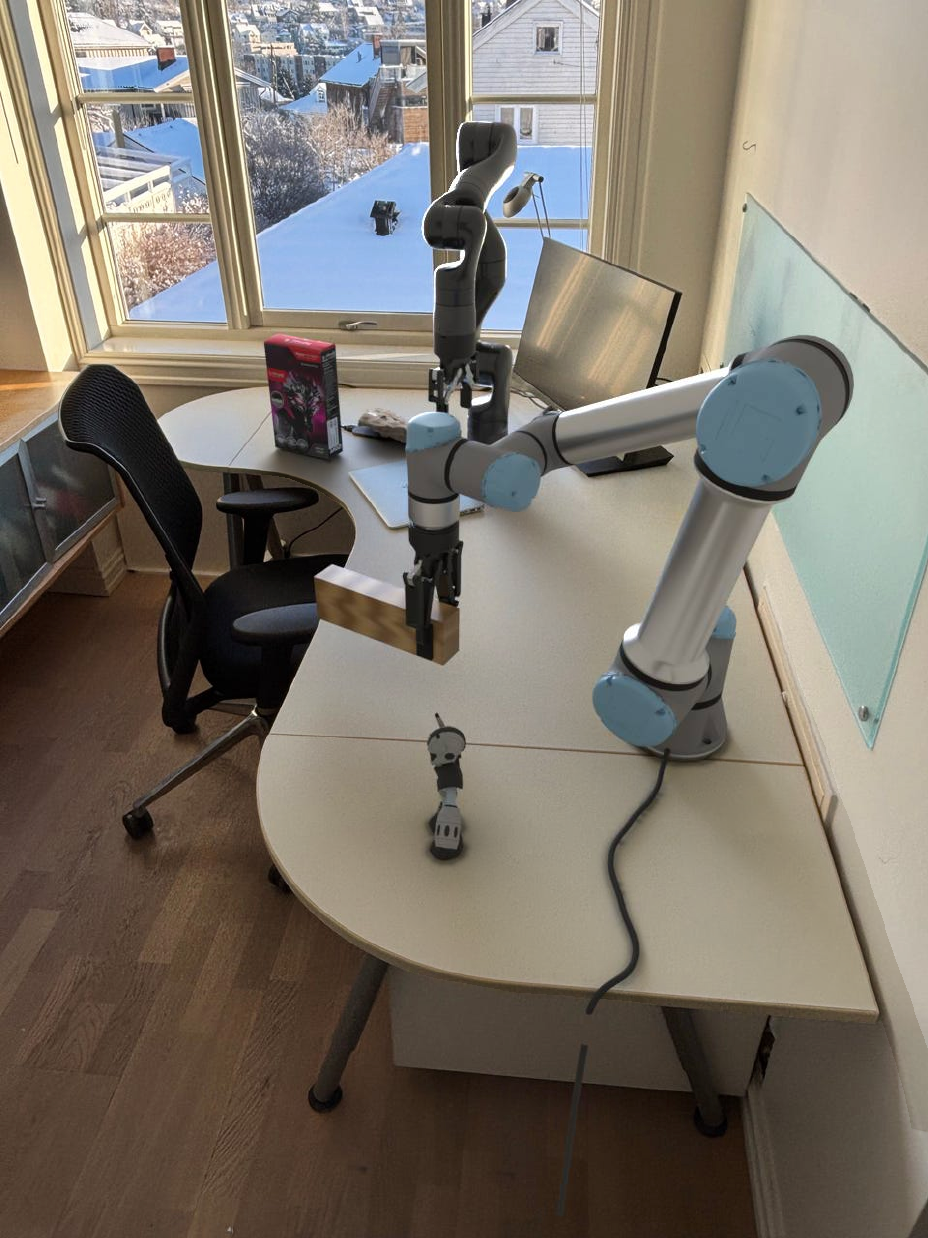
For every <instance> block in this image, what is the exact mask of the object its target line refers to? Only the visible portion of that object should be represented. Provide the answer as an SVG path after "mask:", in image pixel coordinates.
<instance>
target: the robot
mask: <svg viewBox="0 0 928 1238" xmlns="http://www.w3.org/2000/svg"><path fill="white" fill-rule="evenodd" d="M434 717H435V720H436V723H437V726H438V727H437V728H436V729H435V730H433V731H432V732H431V733H430V734H429V735H428V737H427V739H426V746H427V751H428V753H429V756H430V759H429V761H430V765H431V766H434V767H433V770H434V772H435V775H436V776H437V778H436V788H437V789H436V790H437V792H438V794H439V797H440V800H441V801H440V802H439V804H438V806H437V810H436V811H435V813H434V815H432V817H431V818H430V820H429V822H428V824H429V827H430V829H431V831H432V832H433V833H434V838H433V840H432V842H431V845H430V848H429V852H430V853H431V854H432V856H434V857H435V859H438V860H442V861H445V860H451V859H453V858H456V857H458V856H460V855H461V854H462V852H463V848H464V841H463V840H464V838H463V835H462V832H461V831H462V827H463V825H462V820H463V819H462V814H461V809H460V808H459V807H458V806H457V801H456V800H457V799H458V795H459V793H458V789H459V790H463V789H464V776H463V771H462V768H461V762H460V760H461V759H462V752H464V751H465V749H466V747H467V738H466V736H465V733H464V732H462V730H460V729H459V728H457V727H456V726H452V725H445V723H444V721H443V719H442V718H441V716H440V714H439V713H438V712H435V714H434Z"/></svg>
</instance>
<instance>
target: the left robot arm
mask: <svg viewBox="0 0 928 1238" xmlns="http://www.w3.org/2000/svg"><path fill="white" fill-rule="evenodd" d="M517 136H518V135H517V132H516V129H515V127H514V126H513V125H512V124H510V123H507V122H503V121H464V122H463V123H461V124H460V126H459V129H458V132H457V138H456V160H457V162H456V163H457V172H458V174H457V176H456V177H455V179H454V180H453V182H452V183H451V185H450V188H449V189H448V191H447V192H445V193H444V194H443V195H442V196H440V197H439V198H438V199H436V200H434V201H433V202H432V203H431V205H430V206H429V207H428V208H427V210H426V212H425V213H424V216H423V219H422V226H421V232H422V236H423V239H424V241H425V243H426V244H427V245H428V246H429V247H430V248H431V249H434V250H438V251H453V252H454V251H455V252H460V260H458V261H455V262H449V263H444V264H441V265H439V266H437V268H436V269H435V270H434V276H433V278H434V279H433V280H434V281H433V283H434V287H433V290H434V295H433V296H434V305H433V314H432V315H433V316H432V321H433V323H432V325H433V330H432V331H433V334H432V335H433V353H434V355H435V356H437V357H438V359H439V364H438V367H437V368H432V367H431V368H430V369H428V389H427V390H428V393H427V396H428V397H427V398H428V399H427V400H428V401H427V402H429V403H433V404H434V403H435V412H443V413H448V414H450V411H449V410H450V409H449V408H450V407H449V405H450V404H449V400H450V398H451V395H452V394H454V392H455V391H456V388H457V386H458V385H459V386H460V389H459V406H460V408H463V409H467V410H466V411H467V412H466V413H467V415H466V428H467V429H466V438H467V439H469V440H472V441H476V442H480V443H483V444H486V445H491V444H493V443H495V442H497V441H498V440H500V439H502V438H504V437H505V436H507V435H509V414H510V411H509V410H510V403H511V391H512V389H511V388H512V377H513V369H514V368H513V367H514V354H513V350H512V348H511V346H510V345H508V344H505V343H497V342H490V341H482V340H481V333H482V332H481V331H482V326H483V322H484V320H485V318H486V316H487V315H488V312H489V311H490V309H491V307H492V306H493V305H494V303H495V302H496V300H497V299H498V297H499V296H500V294H501V293H502V292H503V291H502V290H503V289H504V287H505V284H506V280H507V256H508V255H507V253H508V251H507V245H506V243H505V242H506V241H505V240H504V238H503V236H502V234H501V232H500V230H499V228H498V227H497V224H496V223H495V222H494V220H493V218H492V217H491V215H490V213H489V212H488V210H487V207H488V204H489V202H490V199H491V198H492V196H493V195H494V194H495V192H496V191H497V190H498V189H499V188H500V187H501V186H502V185H503V184H504V182H505V181H506V180H507V179H508V178H509V177H510V176H511V174H512V173H513V170H514V168H515V166H516V163H517V157H518V156H517V155H518V137H517ZM475 386H480V387H487V388H491V393H489V394H485V395H481V396H477V397H474V398H473V390H474V388H475ZM444 392H445V393H444ZM552 408H553V407H552V406H550V404H549V405H548V406H547V407H545V408H544V410H543V411H542V412H541V413H540V415H539V416H541V415H543V414H546V413H548V412H549V411H550V410H551V409H552Z"/></svg>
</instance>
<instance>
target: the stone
mask: <svg viewBox="0 0 928 1238" xmlns="http://www.w3.org/2000/svg"><path fill="white" fill-rule="evenodd" d="M410 420H411V419H406V418H405V417H402V416H401V415H397V414H396V413H394V412H391V410H390V409H384V408H380V407H377V408H374V409H366V410H365V411H363V413H362V414H361V416H360V417H359V419H358V420H357V426H358V427H368V428H369V429H370V430H371V431H373V432H375V433H378V434H380V437H383V438H387V439H388V438H391V439H393V440H395V441H400V442H401V443H404V444H406V441H407V425H408V423H409V421H410Z"/></svg>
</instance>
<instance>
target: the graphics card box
mask: <svg viewBox="0 0 928 1238" xmlns="http://www.w3.org/2000/svg"><path fill="white" fill-rule="evenodd" d="M336 347H337V345H336V343H335V342H326V341H321V340H314V339H309V338H304V337H299V336H295V335H294V336H293V335H288V334H283V333H277V334H275V335H272V336H270V337H268V338H266V339H265V340H264V341H263V350H264V357H265V358H264V360H265V367H266V373H267V374H266V376H267V383H268V394H269V401H270V410H271V411H270V412H271V420H272V429H273V438H274V446H275V448H277V449H282V450H286V451H290V452H295V453H299V454H302V455H303V454H304V455H308V456H311V457H315V458H320V459H324V460H330V459H332V458H334V457H336V456H338V455H339V454H341V453H342V452H344V445H343V432H342V418H341V404H340V392H339V379H338V378H339V375H338V362H337V348H336Z"/></svg>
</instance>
